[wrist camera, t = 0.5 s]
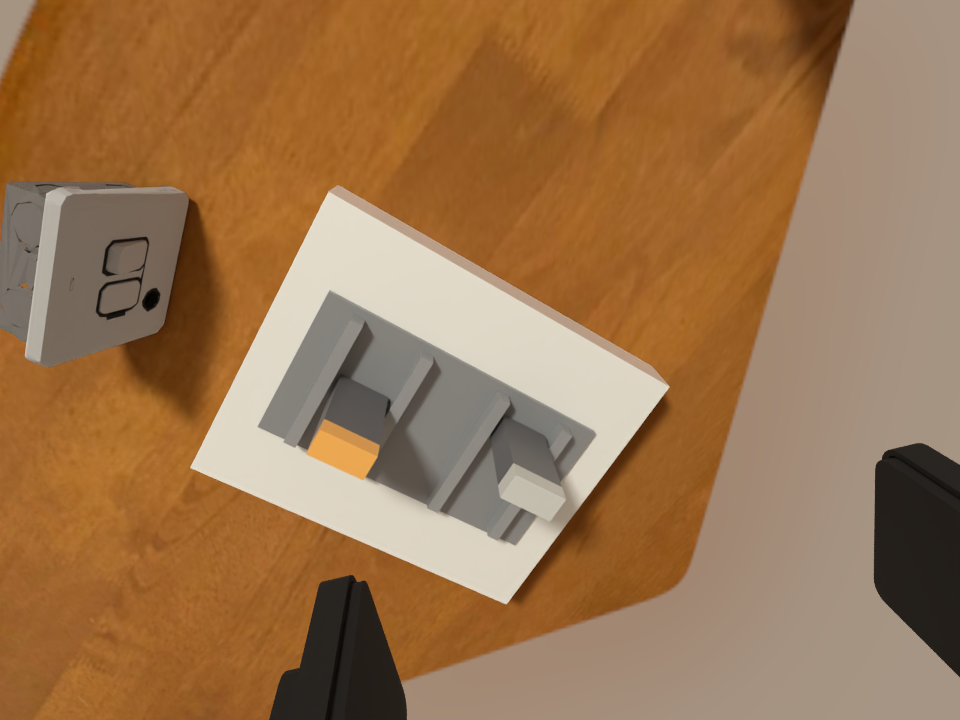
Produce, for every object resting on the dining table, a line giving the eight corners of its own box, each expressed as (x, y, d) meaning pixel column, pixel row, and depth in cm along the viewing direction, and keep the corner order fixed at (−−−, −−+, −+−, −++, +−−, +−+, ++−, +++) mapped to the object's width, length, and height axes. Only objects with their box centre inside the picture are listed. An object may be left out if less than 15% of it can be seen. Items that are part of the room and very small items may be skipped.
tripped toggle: (341, 374, 38) (320, 429, 31) (388, 397, 38) (377, 456, 32) (329, 395, 38) (306, 454, 31) (376, 417, 39) (363, 480, 32)
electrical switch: (165, 330, 40) (73, 383, 32) (86, 303, 40) (-31, 348, 31) (194, 190, 37) (101, 205, 29) (108, 159, 37) (-13, 164, 28)
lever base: (338, 185, 38) (299, 211, 27) (651, 365, 43) (720, 446, 33) (209, 440, 43) (135, 545, 33) (501, 571, 49) (519, 695, 38)
